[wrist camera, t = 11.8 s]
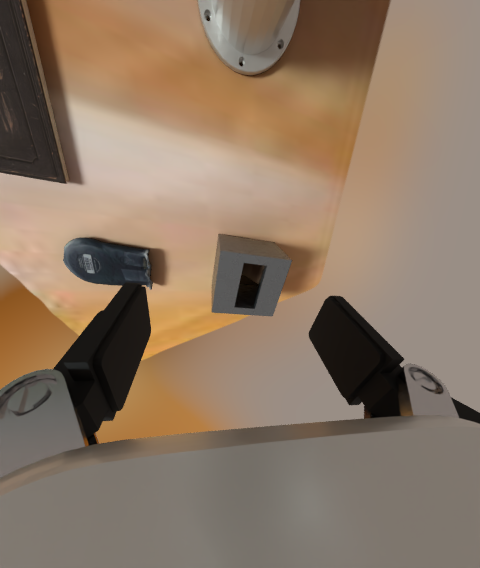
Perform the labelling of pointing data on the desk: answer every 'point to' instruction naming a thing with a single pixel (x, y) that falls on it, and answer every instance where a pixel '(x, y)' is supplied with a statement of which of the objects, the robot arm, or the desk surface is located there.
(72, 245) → the electronic device
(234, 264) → the slot box
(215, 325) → the desk surface
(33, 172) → the hardcover book
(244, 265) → the block
